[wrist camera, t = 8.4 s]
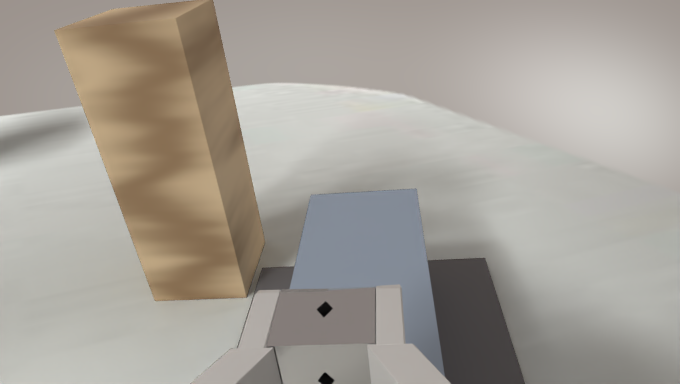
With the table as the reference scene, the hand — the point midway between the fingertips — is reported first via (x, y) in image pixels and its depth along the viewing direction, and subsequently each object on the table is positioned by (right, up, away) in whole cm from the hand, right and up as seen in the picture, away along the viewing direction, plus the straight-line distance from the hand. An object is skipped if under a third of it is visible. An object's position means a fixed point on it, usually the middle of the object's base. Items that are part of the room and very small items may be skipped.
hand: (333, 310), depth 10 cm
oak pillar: (-7, -2, +18) cm, 19 cm away
